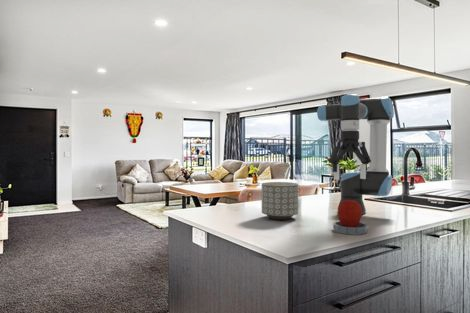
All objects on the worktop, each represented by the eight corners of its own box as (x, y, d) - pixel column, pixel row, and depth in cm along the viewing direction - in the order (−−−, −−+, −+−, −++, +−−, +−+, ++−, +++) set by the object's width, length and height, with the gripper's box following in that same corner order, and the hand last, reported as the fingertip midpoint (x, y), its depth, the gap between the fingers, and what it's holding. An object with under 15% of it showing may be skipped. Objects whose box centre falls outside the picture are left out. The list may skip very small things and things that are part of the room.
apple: (365, 231, 143) (365, 198, 143) (341, 231, 143) (341, 198, 143) (357, 226, 153) (357, 195, 153) (335, 225, 154) (335, 195, 153)
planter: (302, 216, 181) (302, 182, 181) (292, 223, 164) (292, 186, 164) (268, 213, 189) (268, 181, 189) (256, 220, 172) (256, 184, 172)
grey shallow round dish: (327, 231, 148) (327, 224, 148) (341, 225, 158) (341, 219, 158) (359, 236, 138) (359, 229, 138) (371, 230, 149) (371, 223, 149)
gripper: (330, 129, 140) (330, 180, 141) (379, 130, 148) (379, 179, 148) (320, 130, 147) (320, 179, 148) (367, 131, 155) (367, 177, 155)
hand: (349, 179), depth 148 cm, fingers open, 13 cm apart
